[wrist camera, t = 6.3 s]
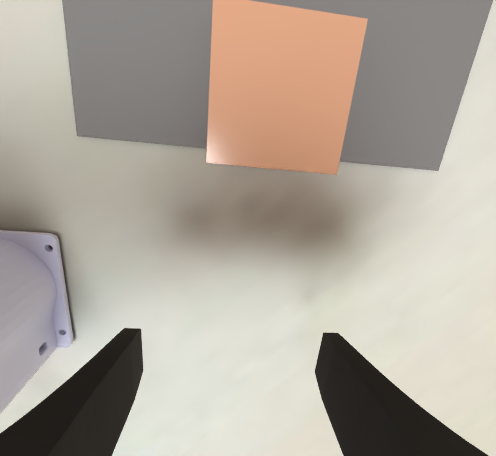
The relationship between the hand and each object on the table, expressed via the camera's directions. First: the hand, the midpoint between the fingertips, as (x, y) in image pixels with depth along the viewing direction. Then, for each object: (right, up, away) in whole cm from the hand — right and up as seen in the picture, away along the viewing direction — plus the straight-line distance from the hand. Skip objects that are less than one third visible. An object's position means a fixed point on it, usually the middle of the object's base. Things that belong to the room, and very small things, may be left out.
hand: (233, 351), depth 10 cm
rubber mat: (+3, +15, +5) cm, 17 cm away
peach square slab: (+2, +9, +6) cm, 11 cm away
